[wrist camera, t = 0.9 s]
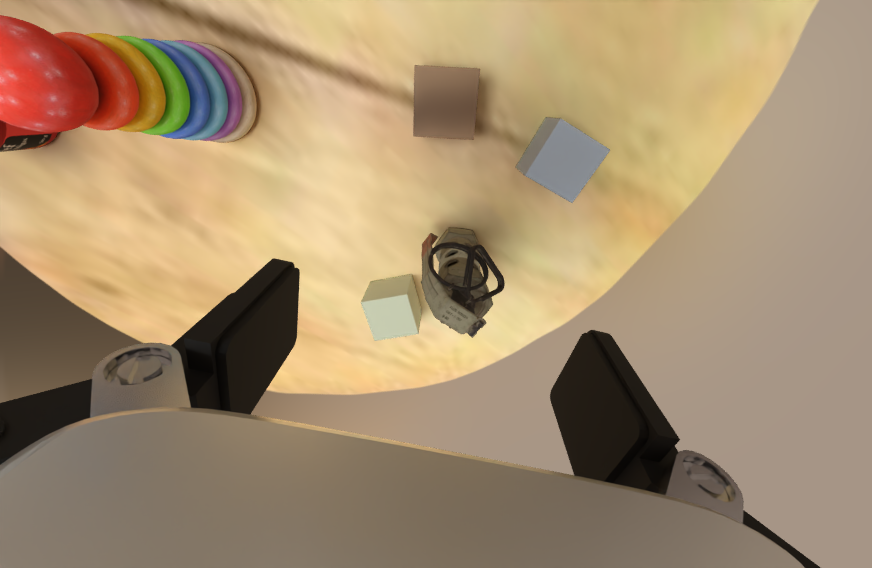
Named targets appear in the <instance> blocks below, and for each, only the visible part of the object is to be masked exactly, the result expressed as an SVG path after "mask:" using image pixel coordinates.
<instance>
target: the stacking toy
mask: <svg viewBox="0 0 872 568" xmlns="http://www.w3.org/2000/svg"><path fill="white" fill-rule="evenodd" d="M256 110H257V103H256V96H255V92H254V89H253V86H252V83H251V81H250V79H249V77H248V76H247V74H246V73H245V71H244V70H243V68H242V67H241V66H240V65H239V64H238V63H237V62H236V61H235V60H234V59H233V58H232V57H231V56H230V55H229V54H227V53H226V52H224V51H223V50H221V49H219V48H217V47H215V46H212V45H209V44H206V43H198V42H190V41H183V40H177V41H166V40H165V41H158V40H154V39H139V38H136V37H131V36H112V35H108V34H102V33H91V34H86V35H83V34H79V33H73V32H62V33H56V34H54V35H53V34H51V33H50V32H48V31H46V30H44V29H42V28H40V27H38V26H36V25H34V24H31V23H29V22H26V21H23V20H19V19H16V18H12V17H8V16H2V15H0V120H1V121H4V122H6V123H8V124H11V125H14V126H17V127H20V128H24V129H27V130H33V131H38V132H47V133H48V132H62V131H68V130H72V129H75V128H78V127H80V126H82V125H83V126H86V127H89V128H93V129H97V130H114V129H118V130H122V131H127V132H143V133H146V134H151V135H160V136H163V137H167V138H173V139H186V140H204V141H213V142H219V143H226V142H232V141H235V140H237V139H240V138H241V137H243V136H244V135H245V134H246V133H247V132H248V131H249V130H250V129H251V127H252V125H253V123H254V121H255V117H256Z"/></svg>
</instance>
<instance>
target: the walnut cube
mask: <svg viewBox="0 0 872 568" xmlns="http://www.w3.org/2000/svg"><path fill="white" fill-rule="evenodd" d="M479 76H480V69H477V68H458V67H439V66H420V65H415V74H414V131H413V136H416V137H434V138H451V139H469V140H474V131H475V120H476V109H477V98H478V87H479Z"/></svg>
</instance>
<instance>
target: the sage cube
mask: <svg viewBox="0 0 872 568" xmlns="http://www.w3.org/2000/svg"><path fill="white" fill-rule="evenodd" d="M361 304H362V307H363V310H364V313H365V315H366V318H367V321H368V324H369V326H370V329H371V332H372V335H373V338H374V340H375V341H377V340H383V339H390V338H396V337H402V336H409V335H415V334H418V333H419V326H420V320H421V313H422V309H421V306H420V302H419V298H418V295H417V291H416V287H415V284H414V280H413V276H412V274H409V275H404V276H398V277H392V278H387V279H381V280H376V281H371V282H370V284H369V286H368V288H367V290H366V292H365V295H364V297H363V299H362V301H361Z"/></svg>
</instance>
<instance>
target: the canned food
mask: <svg viewBox="0 0 872 568" xmlns="http://www.w3.org/2000/svg"><path fill="white" fill-rule="evenodd" d="M57 133H58V132H48V133H47V132H38V131H33V130H27V129H24V128H20V127H17V126H14V125H11V124H8V123H6V122H4V121H1V120H0V152H2V151H13V150H23V149H34V148H38V147H41V146H44V145H46V144H48V143H49V142H51V141H52V140H53V139H54V138H55V137H56V135H57Z"/></svg>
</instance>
